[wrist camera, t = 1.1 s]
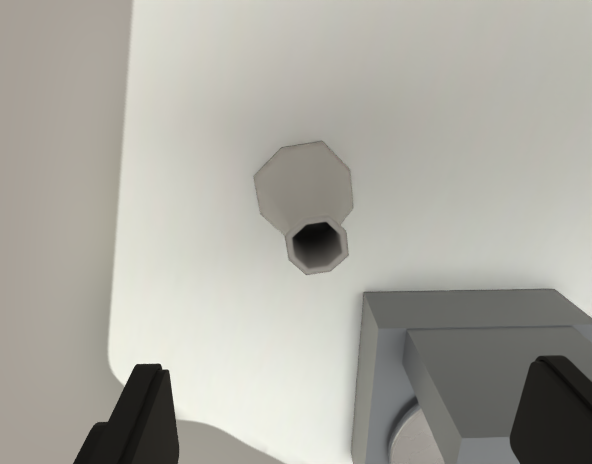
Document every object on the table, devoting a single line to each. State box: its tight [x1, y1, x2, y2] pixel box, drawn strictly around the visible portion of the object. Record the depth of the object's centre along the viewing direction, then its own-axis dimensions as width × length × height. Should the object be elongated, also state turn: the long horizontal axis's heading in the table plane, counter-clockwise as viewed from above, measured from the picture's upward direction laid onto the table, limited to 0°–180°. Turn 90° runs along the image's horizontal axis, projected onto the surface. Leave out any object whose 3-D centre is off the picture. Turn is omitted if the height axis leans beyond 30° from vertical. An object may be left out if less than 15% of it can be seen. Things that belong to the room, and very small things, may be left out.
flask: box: [254, 141, 353, 275], centre depth 25 cm, size 7×7×10 cm
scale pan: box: [388, 402, 445, 464], centre depth 31 cm, size 13×13×1 cm
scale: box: [351, 289, 592, 464], centre depth 30 cm, size 16×18×14 cm
